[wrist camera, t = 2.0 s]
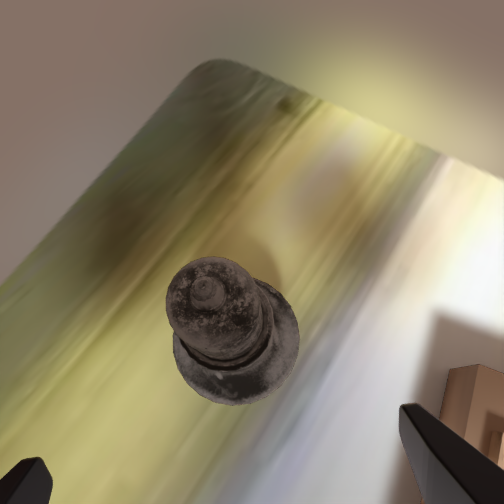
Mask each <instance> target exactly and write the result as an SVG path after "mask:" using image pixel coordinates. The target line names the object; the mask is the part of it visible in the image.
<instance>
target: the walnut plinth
mask: <svg viewBox="0 0 504 504" xmlns="http://www.w3.org/2000/svg"><path fill="white" fill-rule="evenodd" d="M439 420H440V421H441V422H443V423H444V424H445V425H447V426H448V427H449V428H450V429H452V430H453V431H454V432H456V433H457V434H458V435H459V436H461V437H462V438H463V439H465V440H466V441H467V442H469V443H470V444H471V445H472V446H474V447H475V448H476V449H478V450H479V451H480V452H481V453H483V454H484V455H485V456H487V457H488V458H489V459H490V460H492V461H493V462H494V463H496V464H497V465H498V466H499V467H501V468H502V469H503V470H504V373H501V372H498V371H496V370H493V369H490V368H488V367H485V366H482V365H480V364H477V365H471V366H466V367H460V368H454V369H450V371H449V376H448V380H447V385H446V390H445V394H444V399H443V403H442V408H441V412H440V417H439ZM420 504H425V502H424V500H423V497H422V498H421V503H420Z"/></svg>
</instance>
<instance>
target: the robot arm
mask: <svg viewBox="0 0 504 504" xmlns="http://www.w3.org/2000/svg"><path fill="white" fill-rule="evenodd" d="M399 433H400V437H401V440H402V443H403V446H404V448H405V451H406V454H407V457H408V459H409V462H410V465H411V467H412V470H413V473H414V476H415V478H416V481H417V484H418V486H419V489H420V492H421V494H422V497H423V500H424V502H425V504H504V470H503V469H502V468H501V467H499V466H498V465H497V464H496V463H494V462H493V461H492V460H490V459H489V458H488V457H487V456H485V455H484V454H483V453H481V452H480V451H479V450H478V449H476V448H475V447H474V446H472V445H471V444H470V443H469V442H467V441H466V440H465V439H463V438H462V437H461V436H459V435H458V434H457V433H456V432H454V431H453V430H452V429H450V428H449V427H448V426H447V425H445V424H444V423H443V422H441V421H440V420H439V419H438V418H436V417H435V416H434V415H432V414H431V413H430V412H429V411H427V410H426V409H425V408H423V407H422V406H421V405H419V404H418V403H408V404H402V405H401V406H400V408H399ZM52 487H53V480H52V476H51V474H50V472H49V471H48V469H47V467H46V465H45V463H44V461H43V459H42V458H40V457H33V458H26V459H23V460H21V461H20V462H19V463H18V464H16V465H15V466H14V467H13V468H12V469H11V470H10V471H9V472H8V473H7V474H6V475H5V476H4V477H3V478H2V479H0V504H49V500H50V496H51V492H52Z"/></svg>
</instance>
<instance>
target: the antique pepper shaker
mask: <svg viewBox="0 0 504 504" xmlns="http://www.w3.org/2000/svg"><path fill="white" fill-rule="evenodd" d="M166 312H167V316H168V319H169V322H170V325H171V327H172V328H173V330H174V333H173V353H174V357H175V360H176V364H177V367H178V370H179V371H180V373H181V374H182V376H183V378H184V379H185V381H186V383H187V384H188V385H189V386H191V387H192V388H193V389H194V390H195V391H196V392H197V393H198V394H199V395H201V396H203V397H205V398H207V399H209V400H211V401H213V402H215V403H221V404H226V405H232V406H233V405H242V404H251V403H253V402H255V401H258V400H260V399H263V398H265V397H267V396H268V395H270V394H271V393H272V392H274V391H275V390H276V389H277V388H279V387H280V386H281V385H282V383H283V382H284V381H285V379H286V378H287V377H288V375H289V374H290V373H291V371H292V368H293V366H294V363H295V361H296V358H297V356H298V348H299V339H300V337H299V330H298V323H297V320H296V317H295V315H294V313H293V310H292V308H291V306H290V305H289V303H288V302H287V301H286V300H285V298H284V297H283V296H282V294H281V293H279V292H278V291H277V290H276V289H274V288H273V287H272V286H270V285H269V284H267V283H265V282H262V281H260V280H257V279H255V278H252V277H251V276H250V275H249V273H248V272H247V271H246V270H245V269H243V268H242V267H241V266H239V265H238V264H237V263H235V262H233V261H230V260H228V259H226V258H220V257H205V258H200V259H197V260H195V261H192V262H190V263H189V264H187V265H186V266H184V267H183V268H181V270H180V271H179V272H178V273H177V274H176V275H175V276H174V278H173V280H172V281H171V283H170V285H169V287H168V291H167V295H166Z"/></svg>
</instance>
